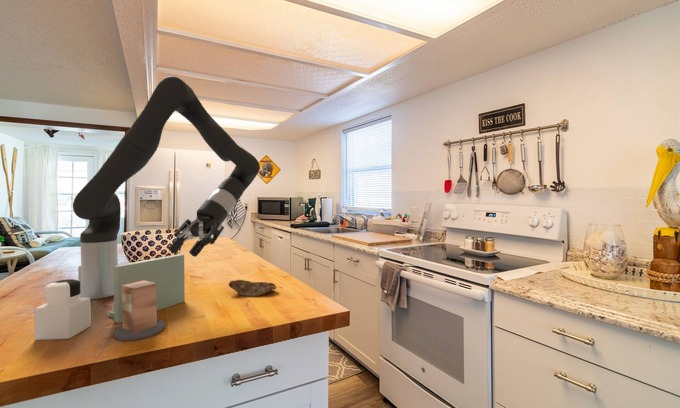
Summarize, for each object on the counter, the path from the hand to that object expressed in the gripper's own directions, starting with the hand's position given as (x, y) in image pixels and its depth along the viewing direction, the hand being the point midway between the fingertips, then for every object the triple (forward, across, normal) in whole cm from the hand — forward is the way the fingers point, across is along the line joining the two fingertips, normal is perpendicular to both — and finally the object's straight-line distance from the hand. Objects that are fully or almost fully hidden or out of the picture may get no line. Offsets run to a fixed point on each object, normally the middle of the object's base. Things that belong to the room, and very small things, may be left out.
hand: (181, 253), depth 83 cm
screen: (+13, -13, +10) cm, 21 cm away
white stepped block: (+26, -14, -2) cm, 30 cm away
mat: (+19, 0, +4) cm, 20 cm away
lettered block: (+19, 0, +3) cm, 19 cm away
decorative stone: (-5, +2, +29) cm, 29 cm away
